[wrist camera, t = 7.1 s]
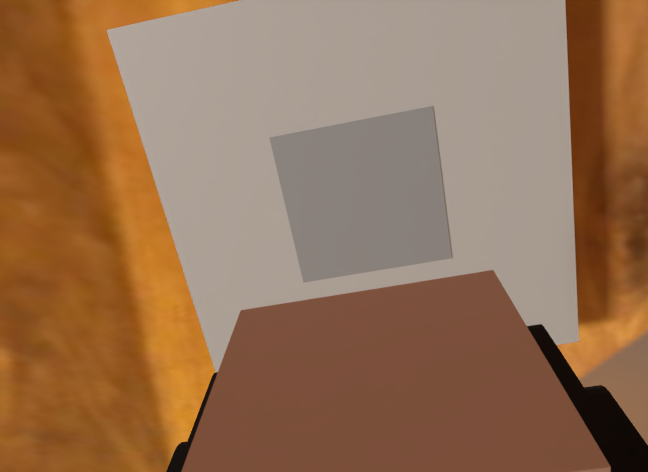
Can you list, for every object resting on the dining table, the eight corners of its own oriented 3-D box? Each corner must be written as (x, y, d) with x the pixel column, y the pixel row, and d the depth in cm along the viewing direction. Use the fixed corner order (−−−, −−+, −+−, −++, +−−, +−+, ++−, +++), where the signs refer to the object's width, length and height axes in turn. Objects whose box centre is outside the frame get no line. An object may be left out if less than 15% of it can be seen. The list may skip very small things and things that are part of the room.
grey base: (536, -61, 23) (563, -72, 20) (556, 311, 29) (579, 342, 27) (133, 29, 25) (106, 30, 22) (233, 359, 31) (222, 393, 28)
